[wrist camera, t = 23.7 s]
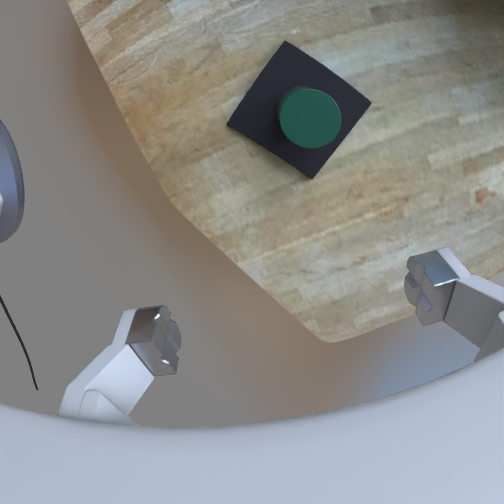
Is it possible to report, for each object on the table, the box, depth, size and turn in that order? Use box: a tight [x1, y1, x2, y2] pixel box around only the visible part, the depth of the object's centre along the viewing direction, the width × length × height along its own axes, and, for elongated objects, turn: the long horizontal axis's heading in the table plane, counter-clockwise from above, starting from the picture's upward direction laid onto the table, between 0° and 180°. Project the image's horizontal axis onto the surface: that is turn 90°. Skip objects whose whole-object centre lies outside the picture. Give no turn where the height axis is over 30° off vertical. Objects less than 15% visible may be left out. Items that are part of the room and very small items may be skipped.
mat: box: [227, 41, 372, 179], centre depth 30 cm, size 12×12×1 cm
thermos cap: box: [276, 86, 341, 148], centre depth 26 cm, size 6×6×9 cm
